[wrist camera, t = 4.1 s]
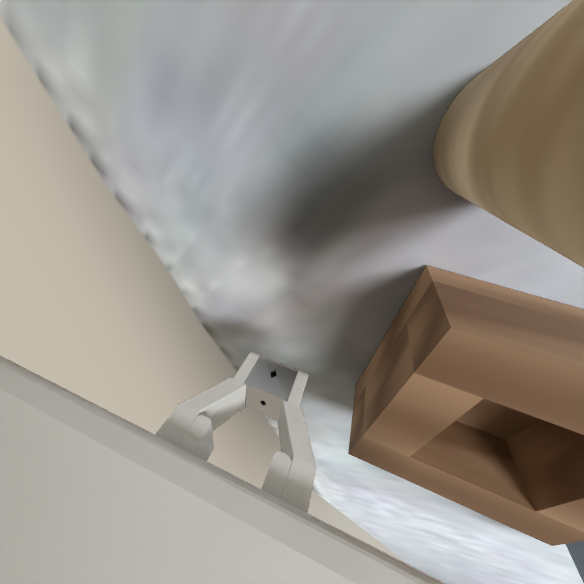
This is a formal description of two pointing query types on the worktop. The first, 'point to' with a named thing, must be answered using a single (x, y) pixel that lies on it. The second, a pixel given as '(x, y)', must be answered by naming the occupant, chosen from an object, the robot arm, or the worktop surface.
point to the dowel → (524, 136)
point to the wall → (577, 555)
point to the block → (481, 403)
